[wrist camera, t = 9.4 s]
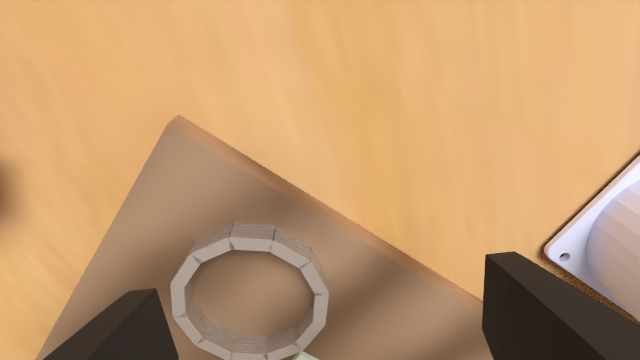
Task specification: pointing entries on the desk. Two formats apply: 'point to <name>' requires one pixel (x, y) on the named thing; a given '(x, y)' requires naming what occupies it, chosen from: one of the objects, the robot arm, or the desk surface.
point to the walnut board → (267, 264)
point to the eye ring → (249, 350)
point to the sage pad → (304, 356)
